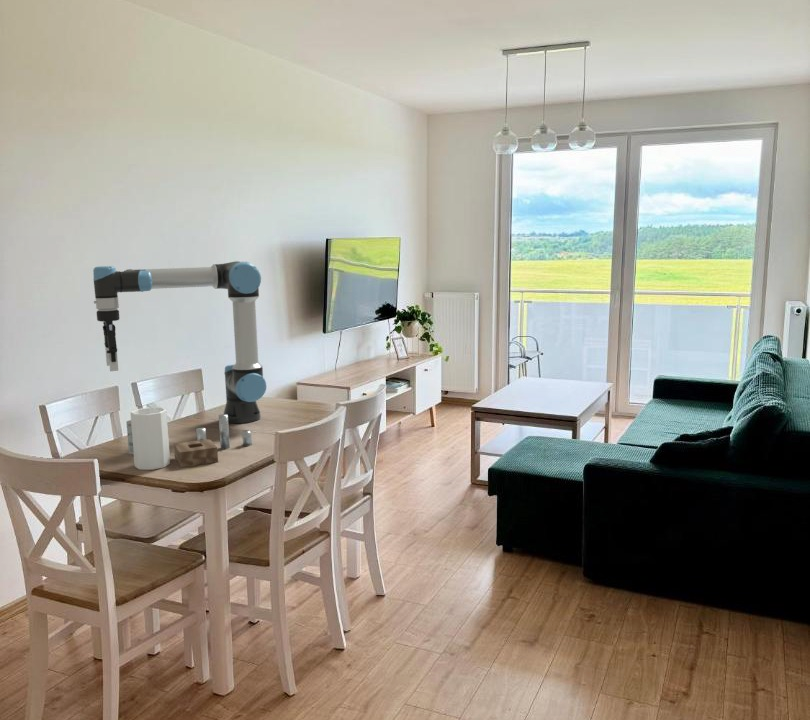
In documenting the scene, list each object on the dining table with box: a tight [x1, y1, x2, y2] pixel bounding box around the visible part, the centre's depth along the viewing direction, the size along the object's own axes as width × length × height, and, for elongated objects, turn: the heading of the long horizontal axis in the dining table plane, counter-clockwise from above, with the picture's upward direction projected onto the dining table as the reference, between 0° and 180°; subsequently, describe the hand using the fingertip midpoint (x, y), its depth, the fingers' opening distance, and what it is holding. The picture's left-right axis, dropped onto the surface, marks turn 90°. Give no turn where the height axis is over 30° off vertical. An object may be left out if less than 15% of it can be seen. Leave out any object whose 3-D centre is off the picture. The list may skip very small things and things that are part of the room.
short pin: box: [241, 429, 253, 447], centre depth 270 cm, size 3×3×5 cm
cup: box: [130, 406, 171, 471], centre depth 246 cm, size 11×11×18 cm
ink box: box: [126, 419, 134, 455], centre depth 261 cm, size 9×5×12 cm, turn 66°
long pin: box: [218, 413, 231, 450], centre depth 266 cm, size 3×3×12 cm
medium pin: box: [195, 427, 207, 441], centre depth 262 cm, size 3×3×8 cm
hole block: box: [173, 438, 219, 468], centre depth 252 cm, size 12×12×5 cm
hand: (112, 368), depth 271 cm, fingers open, 13 cm apart
